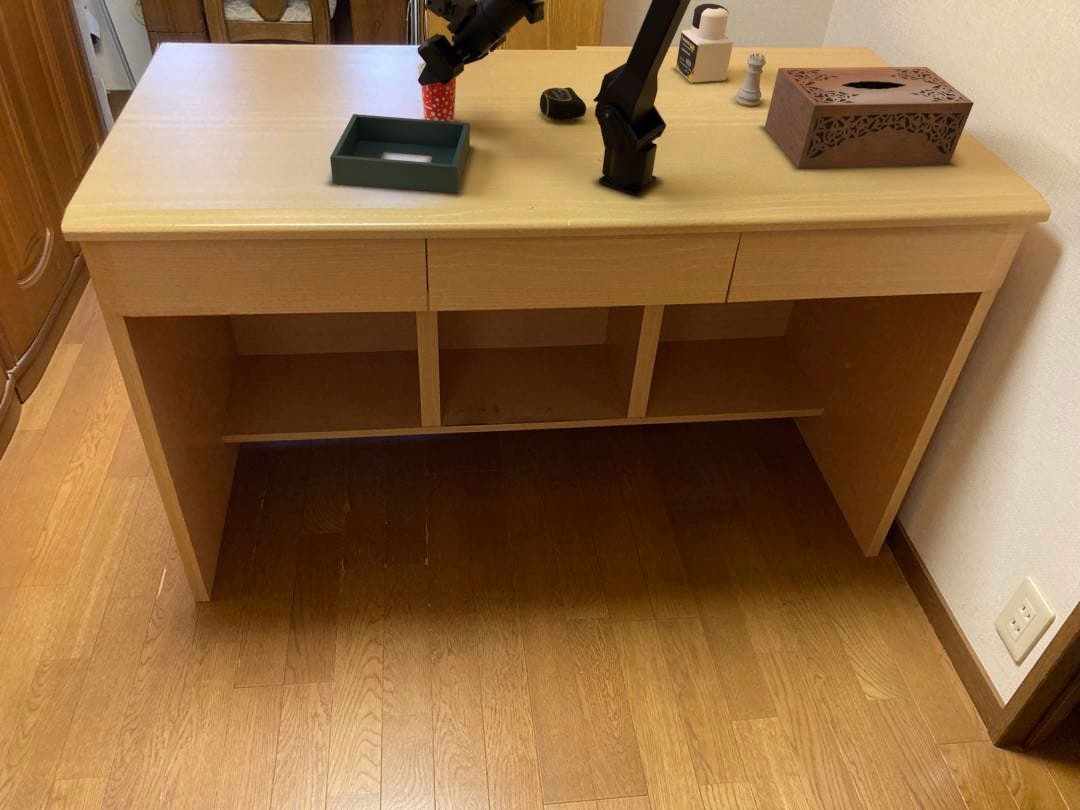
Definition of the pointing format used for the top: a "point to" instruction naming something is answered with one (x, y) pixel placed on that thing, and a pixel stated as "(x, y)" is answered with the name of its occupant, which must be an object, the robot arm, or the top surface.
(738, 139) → the top surface
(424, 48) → the robot arm
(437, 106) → the beverage cup
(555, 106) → the tape measure
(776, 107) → the tissue box cover
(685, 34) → the medicine bottle
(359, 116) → the crate
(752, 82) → the rook chess piece
